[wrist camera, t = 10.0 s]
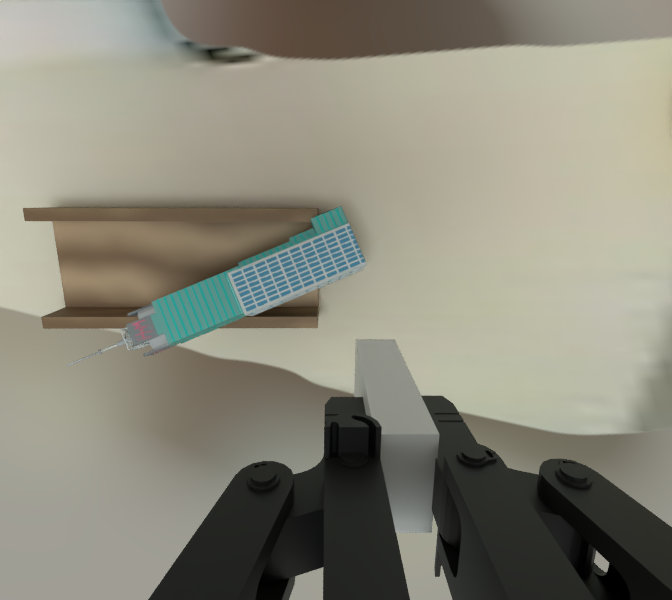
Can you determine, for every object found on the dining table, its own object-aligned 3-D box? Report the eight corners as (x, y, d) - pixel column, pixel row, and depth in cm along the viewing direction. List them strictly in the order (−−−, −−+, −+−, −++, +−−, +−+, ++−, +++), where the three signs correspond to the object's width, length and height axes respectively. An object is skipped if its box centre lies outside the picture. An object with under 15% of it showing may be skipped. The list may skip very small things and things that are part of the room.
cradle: (59, 207, 45) (22, 208, 39) (317, 208, 45) (316, 209, 40) (75, 314, 47) (43, 328, 42) (318, 313, 48) (317, 327, 43)
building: (360, 272, 44) (96, 383, 43) (338, 221, 45) (75, 329, 43) (366, 264, 38) (59, 392, 37) (341, 205, 39) (35, 330, 37)
